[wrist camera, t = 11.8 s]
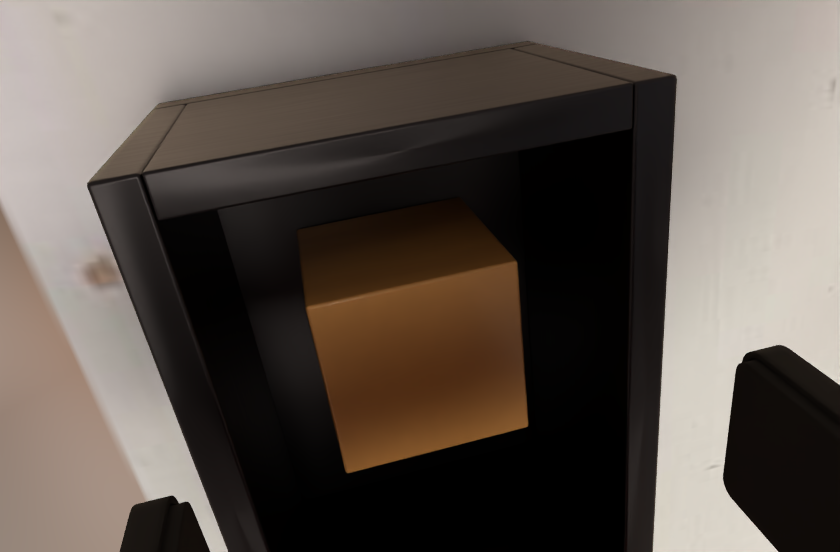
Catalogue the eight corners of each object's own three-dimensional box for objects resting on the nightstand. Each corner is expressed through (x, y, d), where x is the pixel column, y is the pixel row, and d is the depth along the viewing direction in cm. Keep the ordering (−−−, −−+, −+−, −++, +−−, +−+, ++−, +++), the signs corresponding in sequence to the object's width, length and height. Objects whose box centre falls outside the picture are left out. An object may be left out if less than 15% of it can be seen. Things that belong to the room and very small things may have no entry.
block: (295, 228, 17) (305, 307, 13) (460, 195, 17) (518, 260, 13) (329, 369, 19) (346, 475, 15) (475, 335, 19) (529, 428, 15)
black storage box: (156, 103, 15) (83, 183, 9) (529, 40, 17) (679, 74, 11) (283, 507, 21) (290, 713, 15) (549, 437, 23) (651, 602, 17)
